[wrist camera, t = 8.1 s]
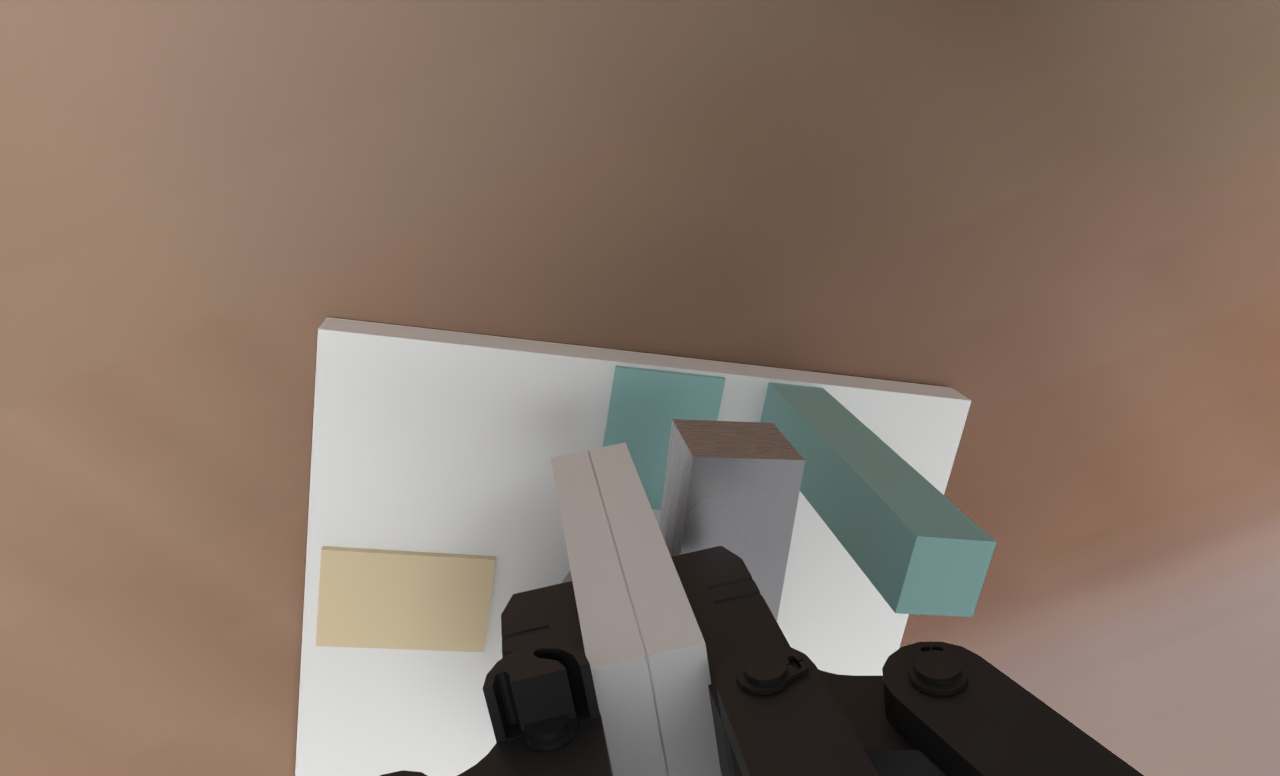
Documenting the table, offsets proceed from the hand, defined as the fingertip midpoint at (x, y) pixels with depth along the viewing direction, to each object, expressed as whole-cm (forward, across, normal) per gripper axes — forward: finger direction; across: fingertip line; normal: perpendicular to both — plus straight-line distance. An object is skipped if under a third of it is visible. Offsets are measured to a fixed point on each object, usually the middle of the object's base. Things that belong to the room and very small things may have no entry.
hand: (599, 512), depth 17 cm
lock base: (+8, 0, -7) cm, 10 cm away
